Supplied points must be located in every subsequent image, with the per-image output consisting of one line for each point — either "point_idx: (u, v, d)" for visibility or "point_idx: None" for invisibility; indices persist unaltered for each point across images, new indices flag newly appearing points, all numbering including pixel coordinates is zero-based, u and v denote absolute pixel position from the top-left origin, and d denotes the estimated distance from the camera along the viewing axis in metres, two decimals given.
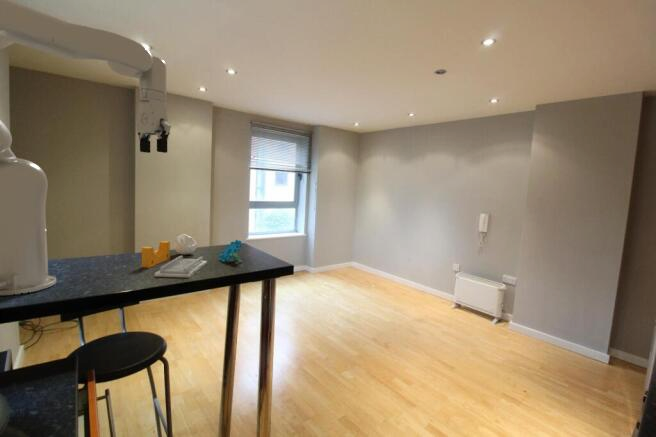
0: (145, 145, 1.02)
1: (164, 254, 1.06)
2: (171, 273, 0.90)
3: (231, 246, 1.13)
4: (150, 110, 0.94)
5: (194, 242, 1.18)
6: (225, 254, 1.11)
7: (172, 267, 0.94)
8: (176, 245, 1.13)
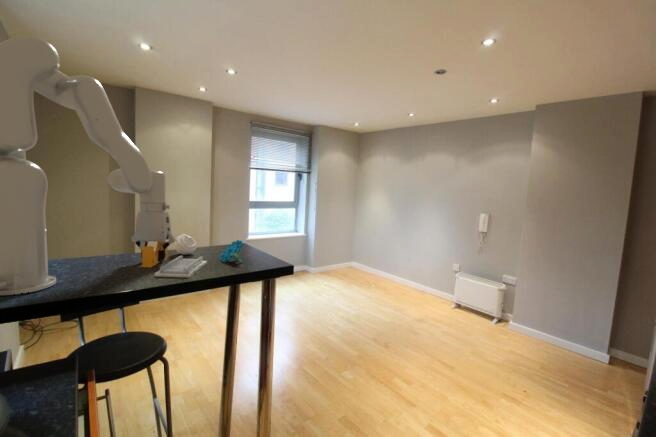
0: None
1: None
2: (171, 273, 0.90)
3: (232, 246, 1.13)
4: None
5: (194, 242, 1.18)
6: (226, 254, 1.11)
7: (172, 267, 0.94)
8: (176, 245, 1.13)
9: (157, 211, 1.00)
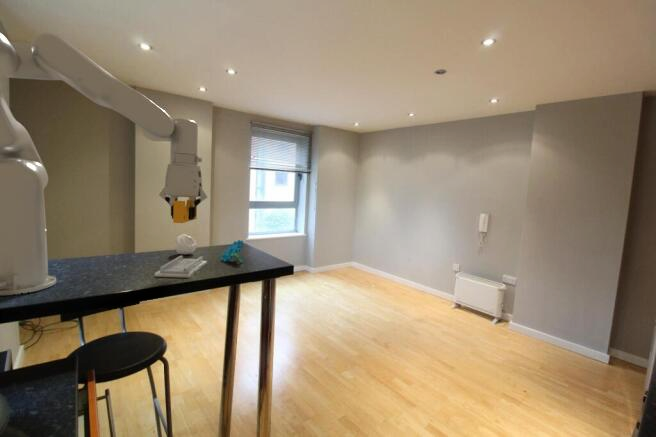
0: None
1: None
2: (171, 273, 0.90)
3: (233, 246, 1.13)
4: None
5: (194, 242, 1.18)
6: (227, 254, 1.11)
7: (172, 267, 0.94)
8: (176, 245, 1.13)
9: (189, 163, 0.92)
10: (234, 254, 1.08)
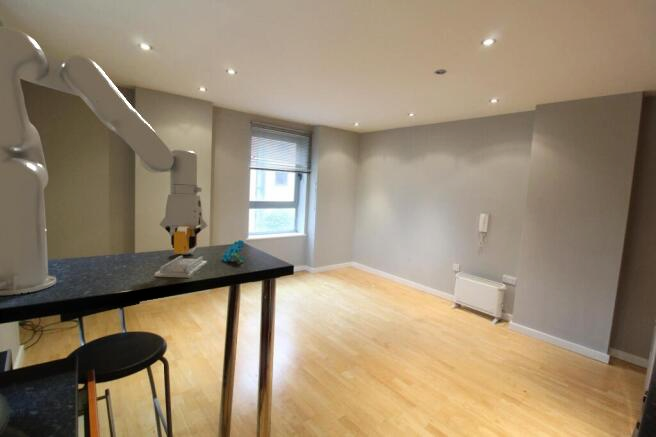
0: None
1: None
2: (171, 273, 0.90)
3: (234, 246, 1.13)
4: None
5: None
6: (227, 254, 1.11)
7: (172, 267, 0.94)
8: None
9: (189, 194, 0.93)
10: (234, 254, 1.08)
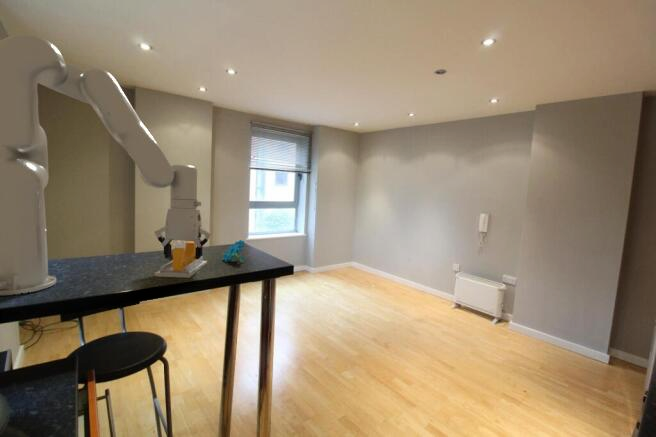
0: None
1: (192, 255, 1.00)
2: (171, 273, 0.90)
3: (234, 246, 1.13)
4: None
5: None
6: (228, 254, 1.11)
7: (172, 267, 0.94)
8: (176, 245, 1.13)
9: (189, 208, 0.93)
10: (234, 254, 1.08)
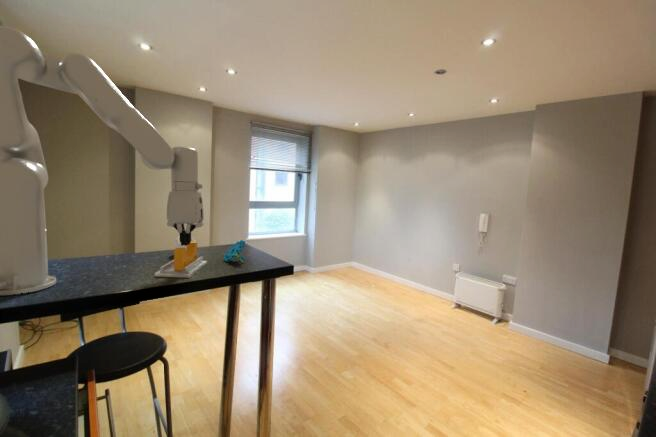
0: None
1: (193, 255, 1.00)
2: (171, 273, 0.90)
3: (235, 246, 1.13)
4: None
5: None
6: (229, 254, 1.11)
7: (172, 267, 0.94)
8: (176, 245, 1.13)
9: (190, 190, 0.93)
10: (235, 254, 1.08)
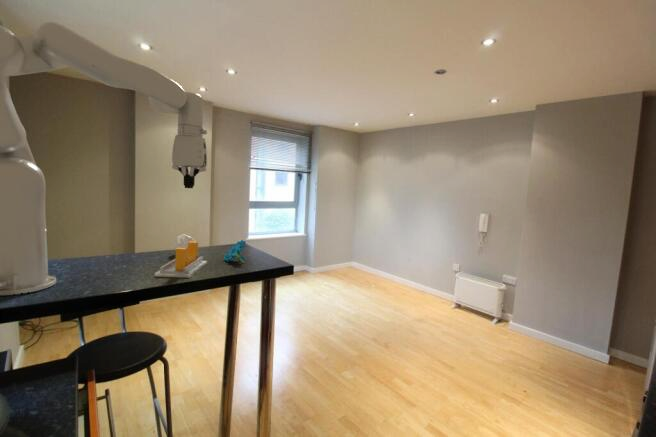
0: None
1: (194, 255, 1.00)
2: (171, 273, 0.90)
3: (236, 246, 1.13)
4: None
5: None
6: (229, 254, 1.12)
7: (172, 267, 0.94)
8: (176, 245, 1.13)
9: (195, 134, 0.98)
10: (235, 254, 1.08)
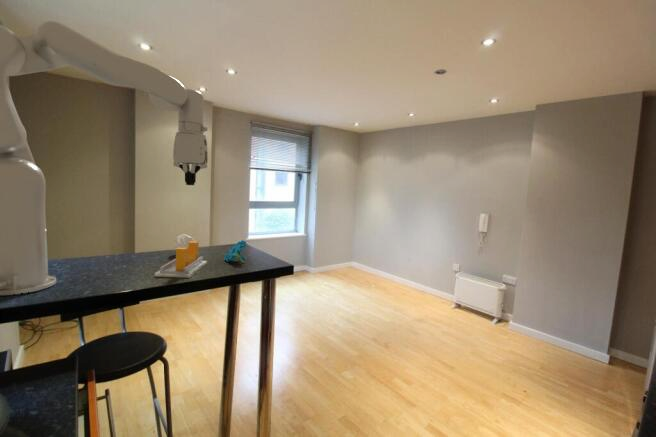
0: None
1: (194, 255, 1.00)
2: (171, 273, 0.90)
3: (236, 246, 1.13)
4: None
5: None
6: (229, 254, 1.12)
7: (172, 267, 0.94)
8: (176, 245, 1.13)
9: (196, 131, 0.98)
10: (235, 254, 1.08)
